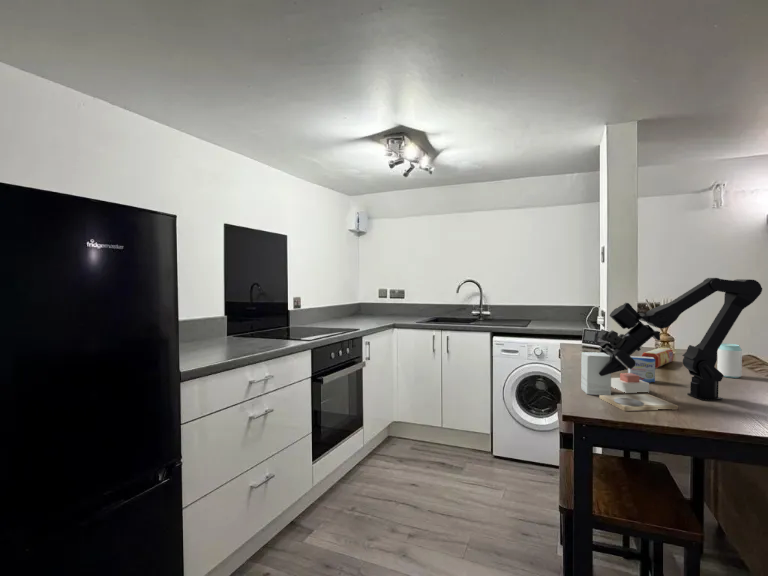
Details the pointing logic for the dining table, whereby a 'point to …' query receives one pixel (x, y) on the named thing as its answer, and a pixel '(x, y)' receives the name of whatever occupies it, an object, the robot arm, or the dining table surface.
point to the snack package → (660, 356)
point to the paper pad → (637, 402)
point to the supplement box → (595, 374)
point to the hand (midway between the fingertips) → (596, 371)
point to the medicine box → (644, 368)
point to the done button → (629, 377)
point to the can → (730, 360)
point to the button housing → (629, 386)
